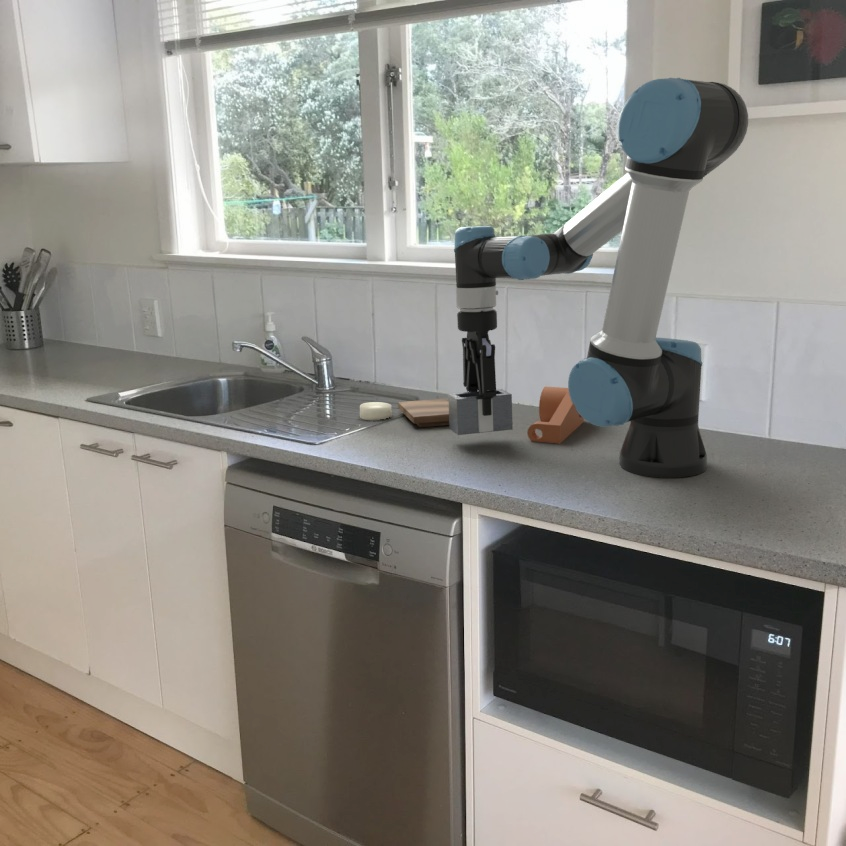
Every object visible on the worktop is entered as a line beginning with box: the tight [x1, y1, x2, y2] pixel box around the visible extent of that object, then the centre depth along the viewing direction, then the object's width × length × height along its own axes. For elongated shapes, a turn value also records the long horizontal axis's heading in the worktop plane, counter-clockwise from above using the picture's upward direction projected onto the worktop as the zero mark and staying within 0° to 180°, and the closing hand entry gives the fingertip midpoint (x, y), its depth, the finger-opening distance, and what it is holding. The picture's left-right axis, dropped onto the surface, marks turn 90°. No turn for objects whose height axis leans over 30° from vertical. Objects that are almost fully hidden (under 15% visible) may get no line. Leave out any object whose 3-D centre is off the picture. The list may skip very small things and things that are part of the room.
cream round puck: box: [359, 401, 393, 421], centre depth 204 cm, size 7×7×3 cm
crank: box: [527, 386, 585, 445], centre depth 189 cm, size 20×8×8 cm, turn 156°
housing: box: [447, 388, 514, 436], centre depth 179 cm, size 6×11×7 cm, turn 104°
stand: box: [397, 397, 449, 428], centre depth 201 cm, size 15×11×3 cm
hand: (480, 427), depth 180 cm, fingers closed on housing, 6 cm apart
